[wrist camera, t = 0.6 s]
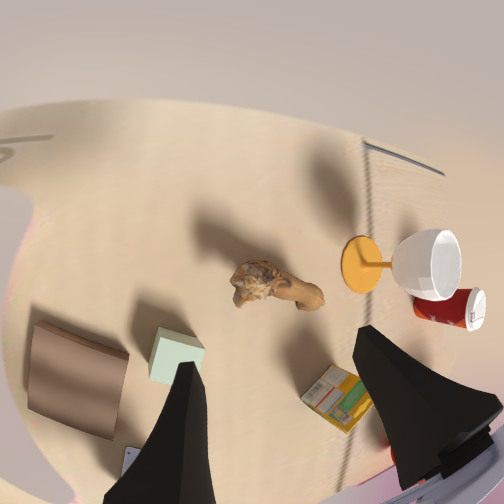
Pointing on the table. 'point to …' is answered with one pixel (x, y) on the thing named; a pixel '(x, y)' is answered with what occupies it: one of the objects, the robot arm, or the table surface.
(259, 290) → the tan animal figurine
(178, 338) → the sage cube
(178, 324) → the table surface
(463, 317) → the paper cup
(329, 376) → the crayon box
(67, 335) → the walnut block
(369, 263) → the cup
